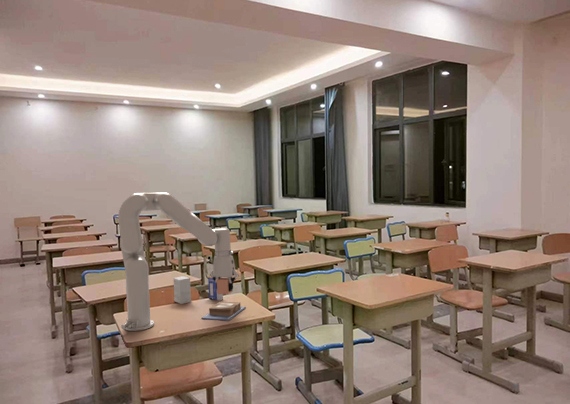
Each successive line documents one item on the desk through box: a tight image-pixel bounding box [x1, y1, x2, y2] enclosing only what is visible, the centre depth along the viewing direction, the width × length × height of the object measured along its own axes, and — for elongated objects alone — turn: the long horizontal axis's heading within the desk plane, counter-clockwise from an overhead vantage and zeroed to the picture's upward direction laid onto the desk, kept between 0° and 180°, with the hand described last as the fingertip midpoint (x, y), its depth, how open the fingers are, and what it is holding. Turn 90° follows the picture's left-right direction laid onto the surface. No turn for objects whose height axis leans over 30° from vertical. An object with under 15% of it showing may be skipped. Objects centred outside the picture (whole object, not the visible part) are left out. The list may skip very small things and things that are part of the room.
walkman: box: [207, 276, 224, 301], centre depth 224 cm, size 8×3×12 cm, turn 58°
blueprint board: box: [201, 306, 246, 322], centre depth 197 cm, size 20×14×1 cm
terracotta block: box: [217, 277, 234, 296], centre depth 198 cm, size 6×6×7 cm
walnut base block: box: [208, 300, 242, 316], centre depth 198 cm, size 12×11×3 cm
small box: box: [173, 275, 192, 305], centre depth 221 cm, size 8×6×13 cm
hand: (224, 290), depth 198 cm, fingers closed on terracotta block, 5 cm apart
